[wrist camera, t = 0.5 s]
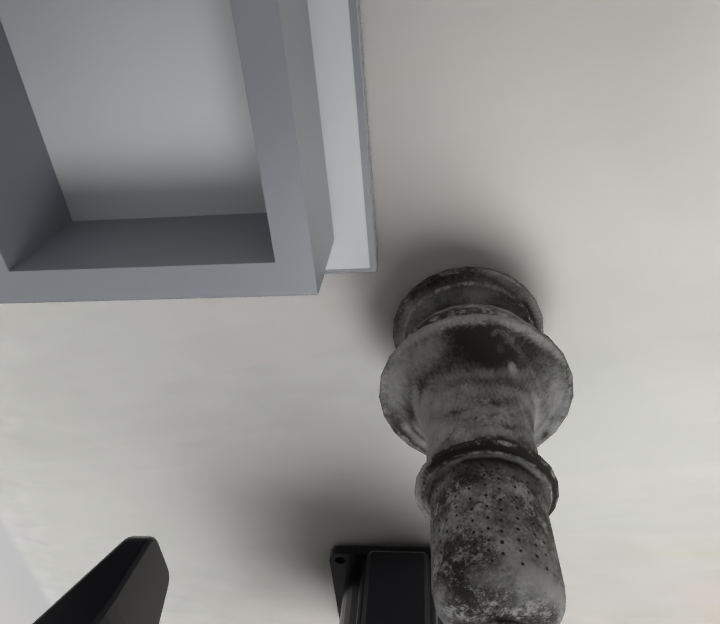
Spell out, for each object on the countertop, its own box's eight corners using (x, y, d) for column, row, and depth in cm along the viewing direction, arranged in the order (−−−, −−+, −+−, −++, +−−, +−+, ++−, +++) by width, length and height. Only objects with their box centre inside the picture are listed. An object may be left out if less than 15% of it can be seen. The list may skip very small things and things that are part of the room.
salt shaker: (438, 417, 23) (451, 779, 13) (353, 310, 21) (289, 647, 11) (580, 355, 21) (724, 728, 11) (501, 227, 19) (594, 551, 9)
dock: (378, 260, 20) (367, 333, 16) (47, 272, 21) (-32, 340, 18) (344, -201, 14) (315, -255, 10) (-119, -143, 15) (-294, -172, 11)
